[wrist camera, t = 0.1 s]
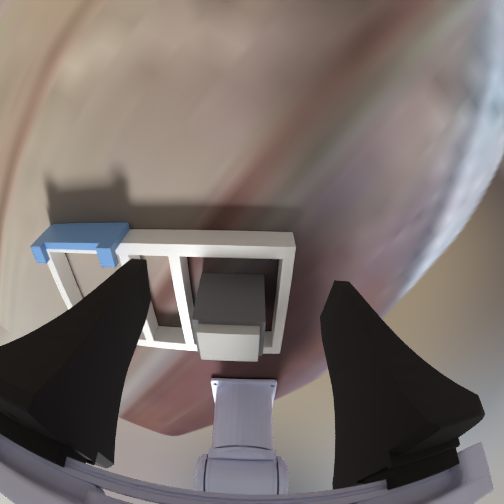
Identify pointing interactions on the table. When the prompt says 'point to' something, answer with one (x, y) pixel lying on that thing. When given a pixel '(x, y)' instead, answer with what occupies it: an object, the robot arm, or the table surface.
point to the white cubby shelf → (178, 249)
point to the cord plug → (230, 316)
